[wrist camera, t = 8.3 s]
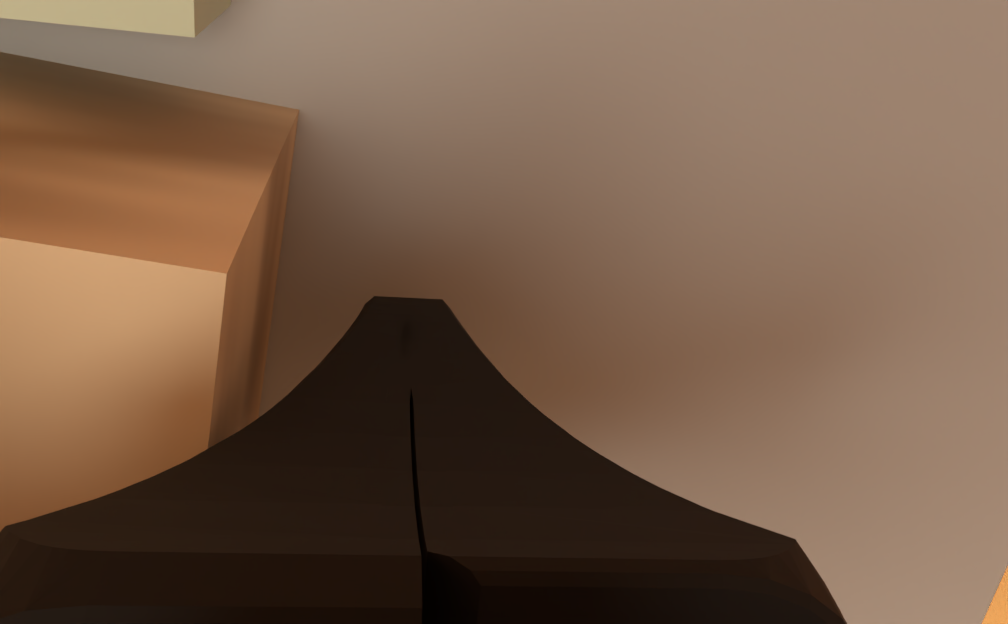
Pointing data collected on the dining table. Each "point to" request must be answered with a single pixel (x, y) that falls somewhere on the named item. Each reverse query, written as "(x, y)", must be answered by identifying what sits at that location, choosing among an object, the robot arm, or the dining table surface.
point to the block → (129, 276)
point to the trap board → (659, 236)
